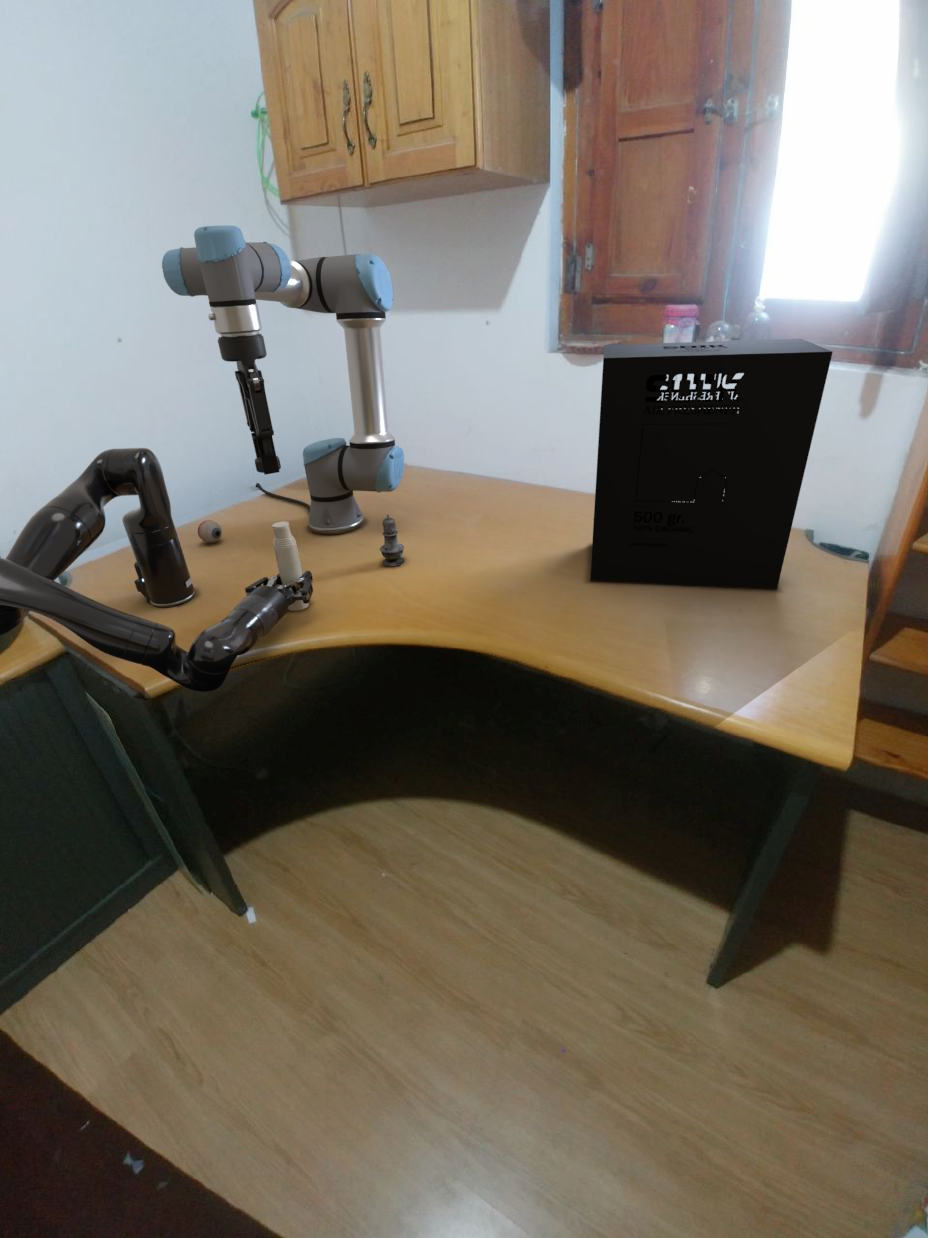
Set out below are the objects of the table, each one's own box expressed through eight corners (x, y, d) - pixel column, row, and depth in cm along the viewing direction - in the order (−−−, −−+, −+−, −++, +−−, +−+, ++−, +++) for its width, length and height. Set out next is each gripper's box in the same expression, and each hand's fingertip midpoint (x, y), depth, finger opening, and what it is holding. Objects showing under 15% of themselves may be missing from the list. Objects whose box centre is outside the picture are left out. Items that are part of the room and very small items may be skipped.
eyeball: (211, 547, 159) (205, 526, 156) (196, 543, 162) (190, 522, 159) (229, 539, 163) (224, 518, 160) (214, 536, 166) (209, 515, 164)
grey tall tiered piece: (401, 567, 143) (396, 519, 137) (378, 566, 144) (371, 518, 138) (408, 556, 148) (403, 510, 142) (385, 556, 149) (379, 509, 143)
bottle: (302, 611, 126) (284, 529, 117) (283, 610, 127) (264, 527, 118) (312, 601, 130) (296, 520, 121) (293, 599, 131) (276, 519, 122)
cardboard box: (756, 549, 141) (800, 338, 118) (776, 589, 124) (832, 351, 101) (592, 544, 148) (604, 344, 126) (590, 580, 131) (603, 357, 109)
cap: (262, 466, 116) (259, 455, 115) (284, 465, 116) (282, 454, 115) (253, 473, 112) (250, 462, 111) (276, 472, 112) (273, 461, 111)
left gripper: (229, 627, 117) (271, 587, 131) (296, 633, 114) (332, 591, 128) (219, 593, 113) (264, 556, 128) (289, 598, 110) (326, 559, 125)
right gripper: (209, 333, 108) (240, 462, 119) (224, 339, 94) (257, 484, 106) (252, 329, 111) (278, 456, 122) (272, 334, 97) (300, 477, 109)
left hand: (298, 574), depth 128 cm, fingers closed on bottle, 4 cm apart
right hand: (269, 469), depth 114 cm, fingers closed on cap, 4 cm apart
